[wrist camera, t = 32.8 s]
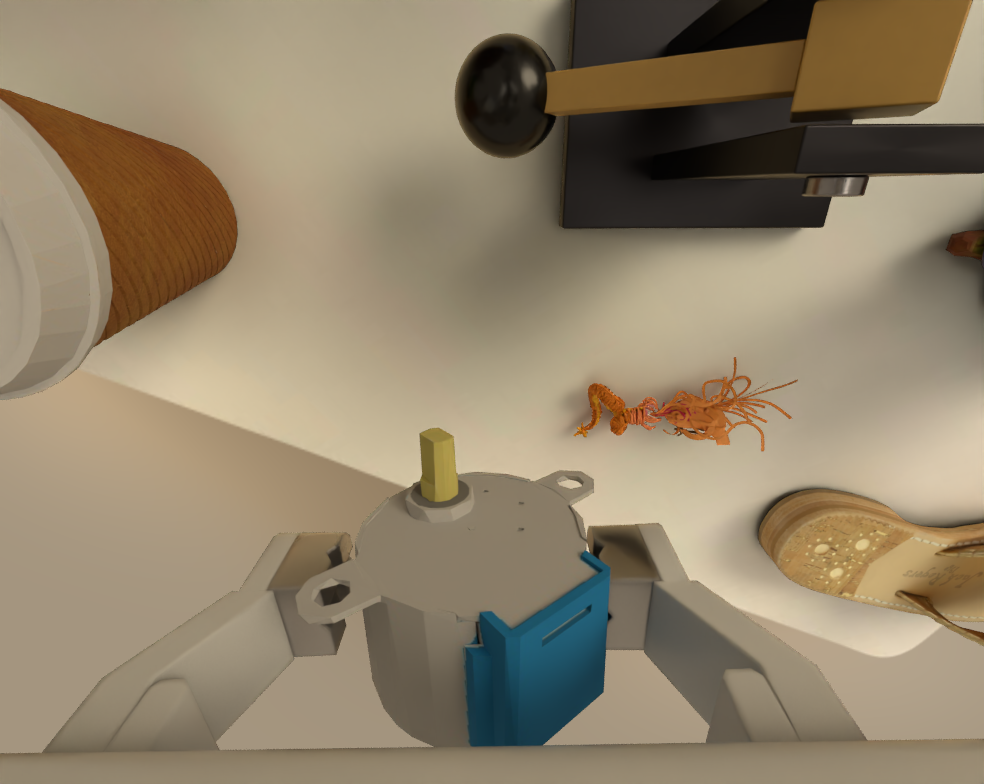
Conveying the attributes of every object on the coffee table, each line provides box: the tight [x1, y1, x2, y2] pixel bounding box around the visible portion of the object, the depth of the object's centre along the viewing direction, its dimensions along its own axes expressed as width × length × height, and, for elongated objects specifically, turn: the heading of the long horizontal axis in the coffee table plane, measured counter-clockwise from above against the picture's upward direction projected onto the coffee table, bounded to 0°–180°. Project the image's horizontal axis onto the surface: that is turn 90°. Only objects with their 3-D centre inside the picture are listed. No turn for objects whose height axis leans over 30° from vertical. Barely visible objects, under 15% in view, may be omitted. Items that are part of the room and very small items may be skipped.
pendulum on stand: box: [559, 0, 984, 229], centre depth 15 cm, size 12×9×12 cm
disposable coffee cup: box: [0, 89, 237, 400], centre depth 17 cm, size 10×10×12 cm
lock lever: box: [455, 0, 973, 158], centre depth 14 cm, size 13×4×4 cm, turn 90°
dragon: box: [574, 357, 798, 451], centre depth 24 cm, size 4×11×4 cm, turn 93°
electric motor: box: [296, 428, 611, 747], centre depth 9 cm, size 7×5×5 cm
